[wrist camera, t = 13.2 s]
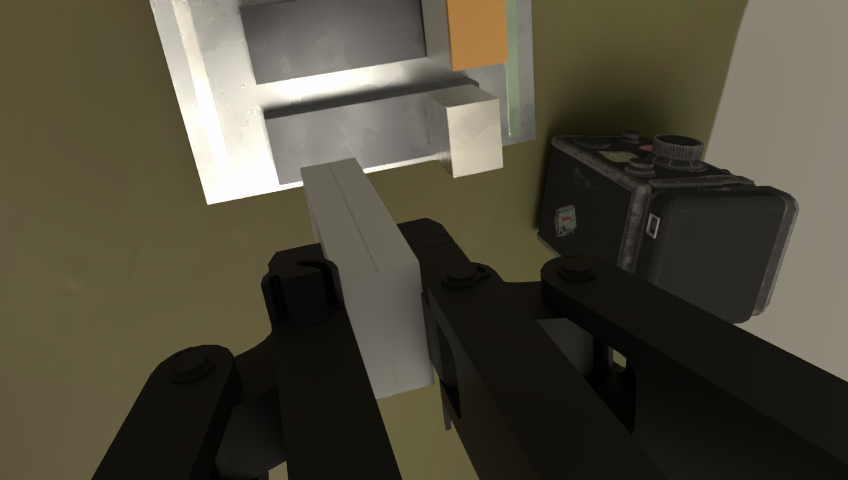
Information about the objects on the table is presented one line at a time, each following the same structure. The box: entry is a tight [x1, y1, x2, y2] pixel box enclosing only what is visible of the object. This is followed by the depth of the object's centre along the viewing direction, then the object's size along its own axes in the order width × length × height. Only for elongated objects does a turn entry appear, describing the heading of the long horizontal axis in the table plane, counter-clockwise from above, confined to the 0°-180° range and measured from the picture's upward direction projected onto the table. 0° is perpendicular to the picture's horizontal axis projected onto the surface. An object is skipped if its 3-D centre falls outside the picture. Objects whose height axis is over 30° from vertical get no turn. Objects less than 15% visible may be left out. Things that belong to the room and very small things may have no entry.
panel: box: [149, 0, 536, 204], centre depth 35 cm, size 22×18×8 cm
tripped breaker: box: [421, 0, 508, 71], centre depth 34 cm, size 3×4×5 cm
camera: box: [537, 130, 799, 324], centre depth 41 cm, size 10×11×15 cm
